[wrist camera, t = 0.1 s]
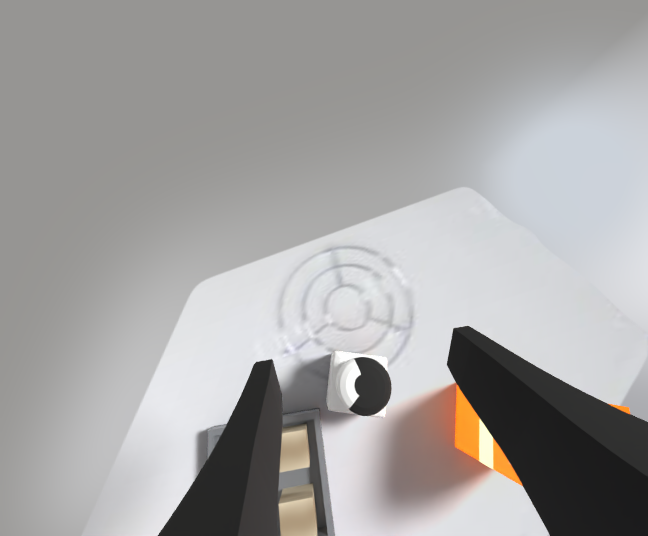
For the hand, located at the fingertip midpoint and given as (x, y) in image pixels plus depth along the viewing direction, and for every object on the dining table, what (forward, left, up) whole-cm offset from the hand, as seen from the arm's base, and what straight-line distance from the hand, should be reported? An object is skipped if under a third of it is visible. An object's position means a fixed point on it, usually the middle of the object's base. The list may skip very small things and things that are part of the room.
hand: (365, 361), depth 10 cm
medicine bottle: (-3, -3, -32) cm, 32 cm away
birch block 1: (-9, +6, -31) cm, 33 cm away
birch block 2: (-16, +6, -31) cm, 36 cm away
